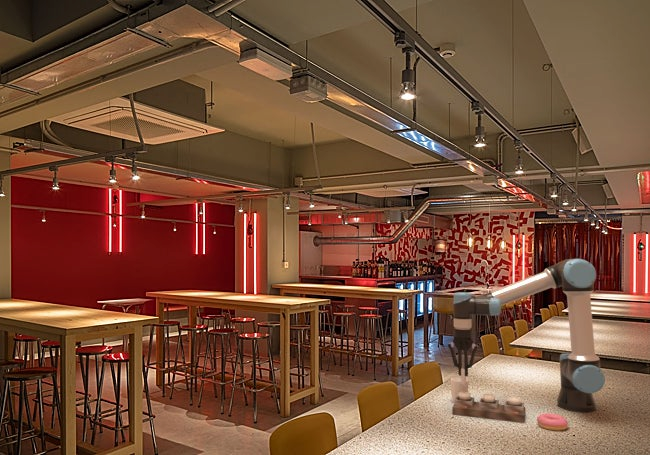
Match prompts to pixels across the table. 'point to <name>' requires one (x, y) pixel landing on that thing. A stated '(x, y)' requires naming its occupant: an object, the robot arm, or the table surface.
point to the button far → (464, 395)
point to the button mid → (488, 398)
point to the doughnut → (552, 422)
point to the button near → (514, 400)
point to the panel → (489, 410)
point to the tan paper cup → (458, 387)
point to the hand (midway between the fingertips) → (463, 383)
